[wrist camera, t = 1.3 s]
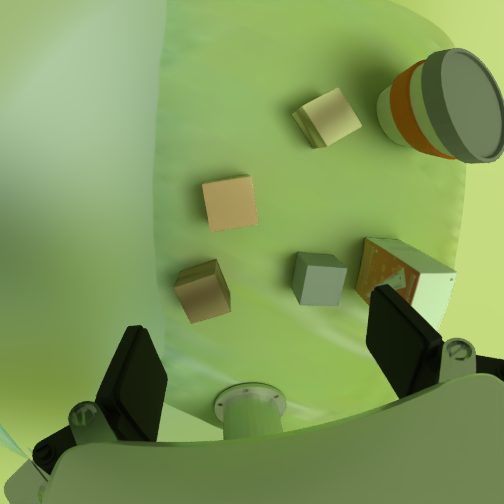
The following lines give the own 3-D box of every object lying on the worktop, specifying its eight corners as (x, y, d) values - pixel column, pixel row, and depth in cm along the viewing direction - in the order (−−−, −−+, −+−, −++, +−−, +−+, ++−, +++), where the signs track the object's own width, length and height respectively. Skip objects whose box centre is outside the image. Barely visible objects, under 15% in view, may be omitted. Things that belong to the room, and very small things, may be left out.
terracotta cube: (254, 215, 33) (258, 224, 28) (213, 222, 33) (210, 232, 28) (248, 174, 31) (251, 176, 27) (206, 181, 31) (201, 184, 26)
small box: (363, 236, 35) (420, 271, 22) (399, 239, 35) (459, 271, 23) (353, 291, 37) (398, 342, 25) (388, 290, 38) (437, 335, 25)
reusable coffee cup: (355, 72, 28) (422, 33, 14) (423, 78, 28) (493, 59, 14) (373, 162, 32) (453, 168, 17) (438, 157, 32) (514, 164, 18)
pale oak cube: (344, 130, 30) (362, 126, 26) (313, 148, 31) (327, 146, 26) (323, 97, 29) (338, 87, 24) (291, 114, 29) (301, 106, 25)
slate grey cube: (325, 289, 37) (338, 306, 32) (290, 287, 36) (299, 305, 31) (332, 254, 35) (347, 268, 31) (297, 251, 35) (307, 265, 30)
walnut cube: (230, 292, 36) (230, 311, 31) (195, 304, 36) (191, 323, 31) (216, 258, 34) (214, 274, 29) (180, 271, 34) (173, 288, 30)
